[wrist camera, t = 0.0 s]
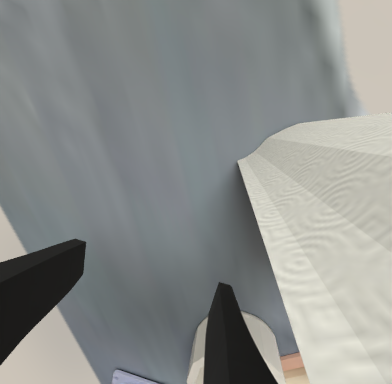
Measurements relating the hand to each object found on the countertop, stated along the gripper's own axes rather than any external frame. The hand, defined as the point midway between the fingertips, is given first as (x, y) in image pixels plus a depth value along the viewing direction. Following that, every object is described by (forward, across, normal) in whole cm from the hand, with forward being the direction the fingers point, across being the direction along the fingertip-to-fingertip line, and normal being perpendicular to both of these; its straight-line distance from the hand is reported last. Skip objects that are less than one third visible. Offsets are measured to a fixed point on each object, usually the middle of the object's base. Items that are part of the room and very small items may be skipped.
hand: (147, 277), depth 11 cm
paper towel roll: (+10, -8, -7) cm, 15 cm away
